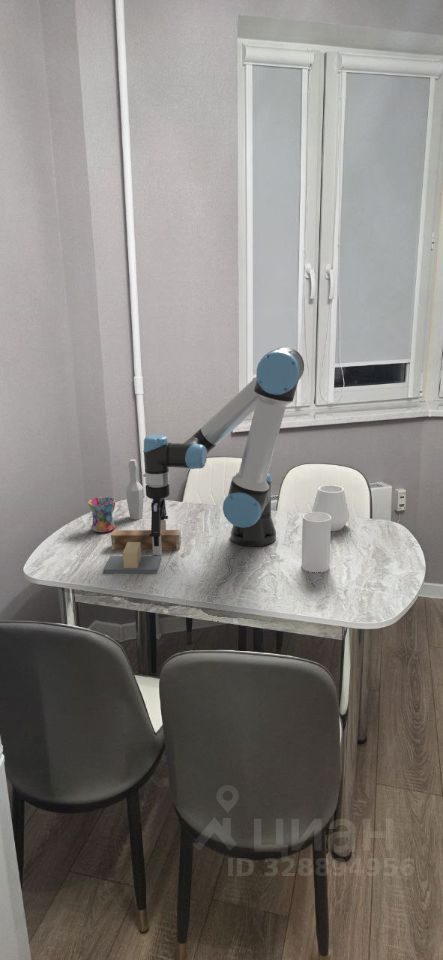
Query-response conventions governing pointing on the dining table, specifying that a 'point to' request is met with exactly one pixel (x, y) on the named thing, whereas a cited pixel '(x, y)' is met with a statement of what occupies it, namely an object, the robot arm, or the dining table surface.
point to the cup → (316, 542)
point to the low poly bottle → (134, 492)
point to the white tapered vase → (332, 505)
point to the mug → (102, 514)
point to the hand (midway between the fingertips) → (160, 546)
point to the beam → (145, 539)
